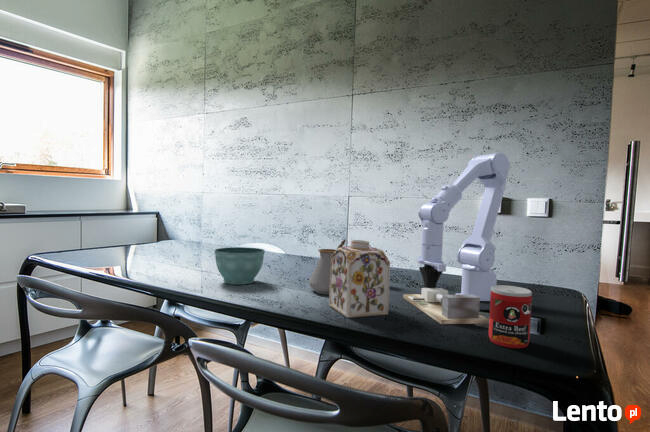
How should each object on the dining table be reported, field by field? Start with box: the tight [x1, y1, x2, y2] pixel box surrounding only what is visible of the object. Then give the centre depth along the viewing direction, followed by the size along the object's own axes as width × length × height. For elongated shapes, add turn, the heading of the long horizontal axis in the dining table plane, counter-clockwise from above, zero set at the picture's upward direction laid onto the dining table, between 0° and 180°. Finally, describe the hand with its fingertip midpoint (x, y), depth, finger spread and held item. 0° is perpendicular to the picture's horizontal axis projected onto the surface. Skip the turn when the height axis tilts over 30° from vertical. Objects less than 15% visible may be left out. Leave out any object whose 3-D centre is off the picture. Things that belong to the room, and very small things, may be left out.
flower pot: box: [213, 246, 266, 286], centre depth 128 cm, size 16×16×11 cm
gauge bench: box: [402, 293, 489, 325], centre depth 104 cm, size 12×25×6 cm, turn 9°
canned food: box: [488, 284, 533, 349], centre depth 80 cm, size 8×8×11 cm
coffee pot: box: [308, 239, 349, 295], centre depth 124 cm, size 21×12×15 cm, turn 158°
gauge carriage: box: [413, 287, 449, 304], centre depth 105 cm, size 9×10×3 cm
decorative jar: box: [328, 239, 391, 319], centre depth 99 cm, size 12×12×18 cm
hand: (429, 292), depth 111 cm, fingers closed
